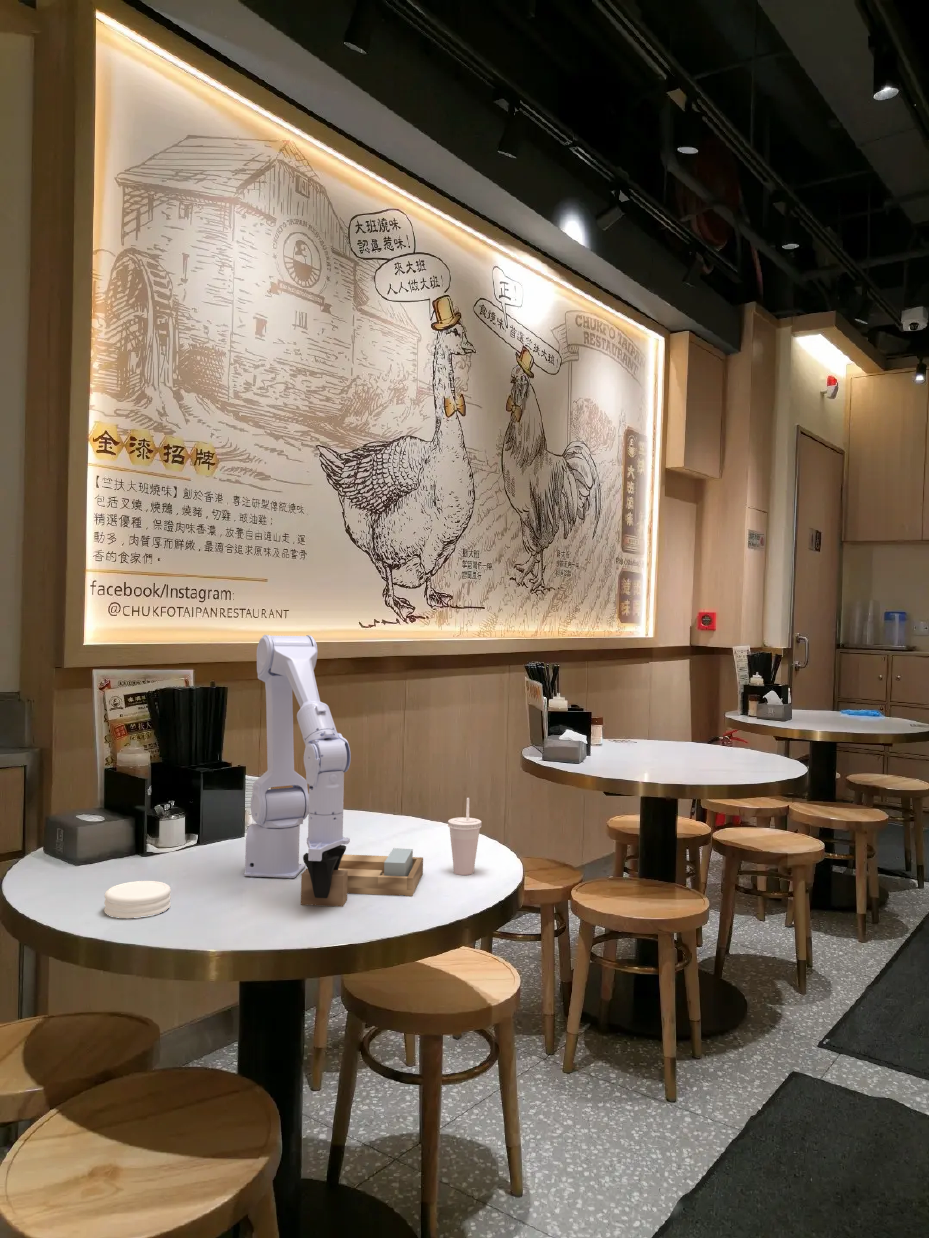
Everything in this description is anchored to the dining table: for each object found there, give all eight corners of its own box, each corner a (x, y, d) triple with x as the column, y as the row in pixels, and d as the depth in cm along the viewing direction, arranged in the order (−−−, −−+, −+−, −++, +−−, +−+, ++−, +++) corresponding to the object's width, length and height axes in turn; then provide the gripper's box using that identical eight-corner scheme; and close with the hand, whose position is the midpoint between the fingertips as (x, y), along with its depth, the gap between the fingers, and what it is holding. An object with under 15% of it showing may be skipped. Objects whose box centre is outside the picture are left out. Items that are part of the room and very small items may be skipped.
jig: (308, 891, 153) (309, 874, 153) (327, 869, 167) (328, 853, 167) (412, 895, 151) (412, 878, 151) (422, 873, 165) (423, 857, 165)
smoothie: (477, 878, 163) (478, 801, 163) (443, 875, 164) (444, 799, 164) (483, 869, 169) (484, 795, 169) (450, 866, 170) (452, 793, 170)
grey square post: (383, 885, 154) (384, 862, 154) (393, 869, 164) (393, 848, 164) (404, 886, 153) (404, 862, 153) (412, 870, 163) (412, 848, 163)
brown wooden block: (300, 904, 145) (301, 874, 145) (306, 898, 149) (306, 868, 149) (342, 906, 145) (343, 875, 145) (347, 900, 148) (347, 870, 148)
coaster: (100, 905, 144) (100, 884, 144) (164, 897, 148) (164, 876, 148) (108, 924, 135) (109, 901, 135) (176, 915, 140) (176, 892, 140)
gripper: (340, 821, 139) (338, 908, 139) (358, 803, 154) (356, 882, 154) (296, 820, 140) (294, 906, 140) (318, 802, 154) (317, 880, 154)
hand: (324, 893), depth 147 cm, fingers closed on brown wooden block, 3 cm apart
